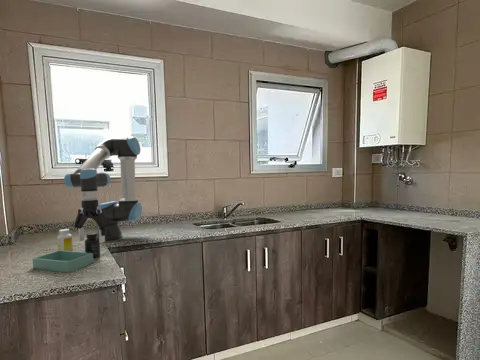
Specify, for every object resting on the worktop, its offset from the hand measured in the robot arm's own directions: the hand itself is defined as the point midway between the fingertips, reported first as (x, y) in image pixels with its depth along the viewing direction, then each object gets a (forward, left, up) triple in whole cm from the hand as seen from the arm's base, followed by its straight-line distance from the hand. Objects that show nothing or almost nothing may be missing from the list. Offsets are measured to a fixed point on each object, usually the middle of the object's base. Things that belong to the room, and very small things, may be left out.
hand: (91, 241), depth 150 cm
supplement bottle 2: (0, 0, -8) cm, 8 cm away
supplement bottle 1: (-1, -20, -8) cm, 22 cm away
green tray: (+14, -3, -8) cm, 16 cm away
